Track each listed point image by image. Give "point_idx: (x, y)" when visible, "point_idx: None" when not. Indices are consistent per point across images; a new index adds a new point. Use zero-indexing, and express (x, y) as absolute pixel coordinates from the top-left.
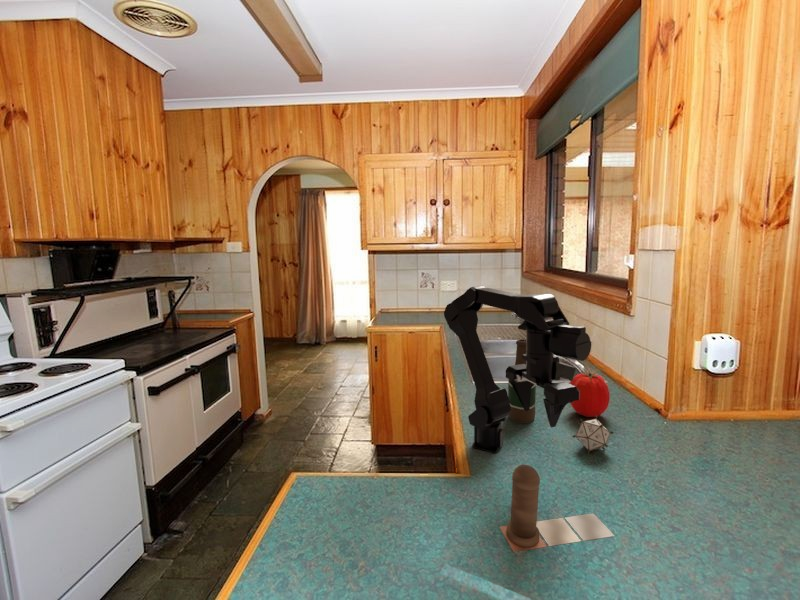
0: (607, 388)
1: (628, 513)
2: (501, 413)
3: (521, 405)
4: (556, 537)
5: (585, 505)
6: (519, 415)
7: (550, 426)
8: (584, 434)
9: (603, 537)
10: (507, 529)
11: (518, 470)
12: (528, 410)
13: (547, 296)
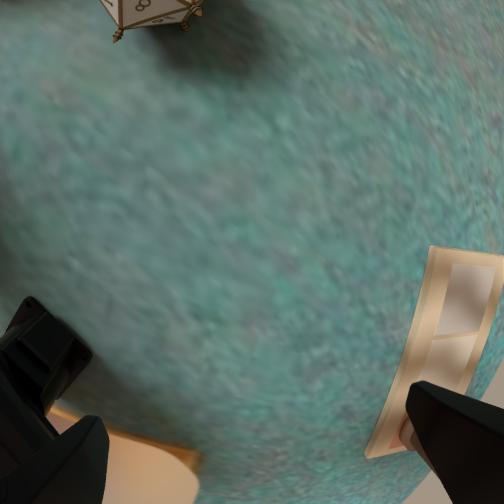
0: None
1: (457, 166)
2: (30, 437)
3: None
4: (453, 372)
5: (411, 244)
6: None
7: (408, 410)
8: (166, 4)
9: (490, 291)
10: (415, 450)
11: None
12: (102, 421)
13: None
